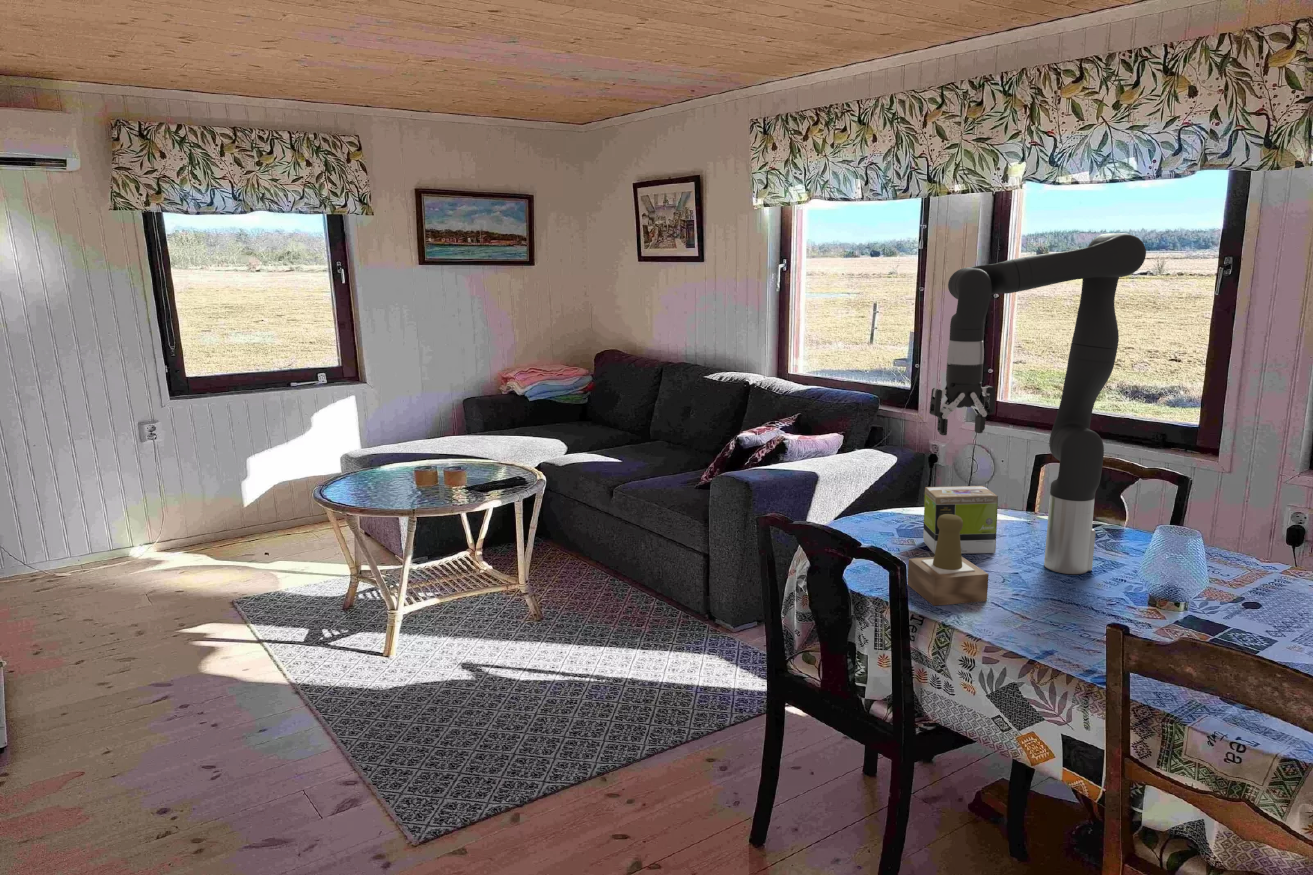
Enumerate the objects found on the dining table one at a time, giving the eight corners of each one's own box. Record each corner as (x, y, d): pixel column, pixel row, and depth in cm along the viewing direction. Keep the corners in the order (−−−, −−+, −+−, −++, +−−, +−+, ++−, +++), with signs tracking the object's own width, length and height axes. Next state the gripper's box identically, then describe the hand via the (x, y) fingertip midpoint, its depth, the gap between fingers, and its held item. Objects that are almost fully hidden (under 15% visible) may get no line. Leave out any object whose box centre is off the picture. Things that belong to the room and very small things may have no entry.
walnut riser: (957, 580, 195) (959, 553, 194) (986, 601, 184) (988, 572, 182) (907, 584, 193) (908, 557, 192) (933, 605, 182) (935, 577, 180)
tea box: (981, 541, 221) (985, 484, 218) (995, 554, 211) (1000, 495, 208) (921, 541, 221) (924, 485, 218) (933, 555, 212) (936, 496, 208)
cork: (964, 570, 184) (967, 520, 181) (934, 569, 185) (937, 519, 182) (960, 560, 189) (963, 512, 187) (931, 559, 191) (933, 510, 188)
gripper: (985, 358, 196) (981, 428, 199) (926, 360, 194) (922, 432, 197) (1004, 362, 189) (999, 435, 192) (943, 364, 186) (939, 438, 190)
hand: (960, 433), depth 195 cm, fingers open, 8 cm apart
